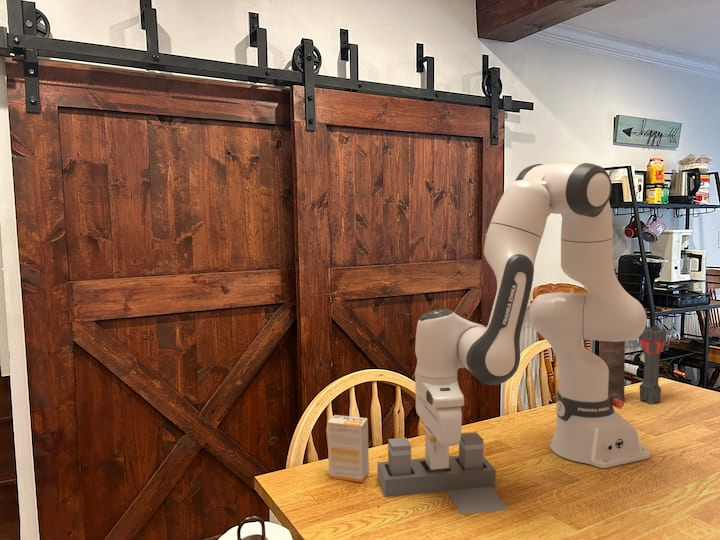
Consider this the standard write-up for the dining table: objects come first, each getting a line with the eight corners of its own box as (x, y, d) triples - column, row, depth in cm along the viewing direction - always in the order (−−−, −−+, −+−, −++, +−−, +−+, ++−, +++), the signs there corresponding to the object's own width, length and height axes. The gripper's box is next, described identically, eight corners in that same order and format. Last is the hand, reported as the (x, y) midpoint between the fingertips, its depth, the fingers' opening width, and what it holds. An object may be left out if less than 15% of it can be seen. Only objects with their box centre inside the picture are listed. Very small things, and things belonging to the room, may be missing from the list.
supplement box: (369, 473, 119) (369, 417, 118) (362, 483, 115) (362, 425, 114) (335, 468, 122) (334, 413, 121) (327, 478, 117) (326, 421, 116)
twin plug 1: (406, 472, 115) (406, 437, 114) (411, 482, 111) (411, 445, 110) (388, 474, 115) (387, 439, 114) (392, 483, 111) (392, 447, 110)
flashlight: (648, 394, 171) (651, 324, 168) (669, 401, 163) (672, 329, 161) (629, 396, 168) (632, 326, 166) (650, 404, 161) (653, 331, 159)
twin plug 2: (476, 466, 118) (476, 432, 117) (483, 475, 114) (483, 439, 113) (458, 468, 117) (458, 433, 116) (465, 476, 113) (465, 441, 112)
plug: (442, 459, 116) (442, 424, 115) (449, 468, 112) (449, 431, 111) (425, 461, 115) (424, 425, 115) (430, 469, 111) (430, 433, 111)
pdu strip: (480, 470, 120) (481, 453, 120) (495, 487, 112) (495, 469, 112) (377, 479, 116) (377, 462, 116) (385, 498, 109) (385, 479, 108)
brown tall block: (601, 403, 163) (603, 339, 161) (594, 395, 170) (596, 334, 168) (627, 404, 162) (629, 340, 160) (619, 396, 169) (622, 335, 167)
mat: (489, 485, 113) (489, 484, 113) (509, 511, 103) (509, 509, 103) (444, 490, 112) (444, 488, 112) (460, 516, 102) (460, 514, 102)
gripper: (409, 373, 122) (409, 431, 123) (436, 402, 102) (436, 471, 103) (435, 371, 123) (435, 429, 124) (467, 400, 103) (466, 469, 104)
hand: (435, 448), depth 113 cm, fingers closed on plug, 4 cm apart
